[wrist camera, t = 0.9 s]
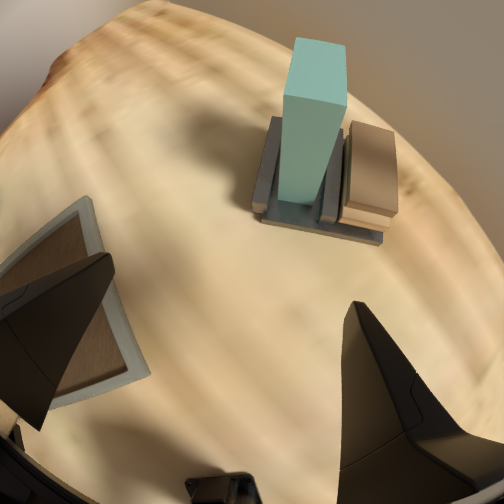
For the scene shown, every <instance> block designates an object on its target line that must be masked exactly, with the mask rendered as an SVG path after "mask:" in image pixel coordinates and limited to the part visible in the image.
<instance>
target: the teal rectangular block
mask: <svg viewBox="0 0 504 504" xmlns="http://www.w3.org/2000/svg"><path fill="white" fill-rule="evenodd" d="M346 77H347V76H346V55H345V46H342V45H338V44H333V43H328V42H323V41H318V40H312V39H305V38H298V37H297V38H296V41H295V46H294V50H293V55H292V59H291V64H290V68H289V72H288V77H287V81H286V86H285V90H284V97H283V118H282V137H281V155H280V172H279V187H278V200H283V201H289V202H294V203H299V204H305V205H310V206H313V204H314V201H315V199H316V196H317V193H318V190H319V188H320V185H321V182H322V179H323V176H324V174H325V171H326V168H327V165H328V162H329V159H330V156H331V153H332V150H333V148H334V145H335V142H336V139H337V136H338V133H339V130H340V127H341V124H342V120H343V117H344V114H345V111H346V108H347V78H346Z"/></svg>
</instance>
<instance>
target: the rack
mask: <svg viewBox="0 0 504 504" xmlns="http://www.w3.org/2000/svg"><path fill="white" fill-rule="evenodd" d="M281 137H282V117H275V116H272V118H271V122H270V126H269V130H268V135H267V139H266V143H265V147H264V151H263V156H262V160H261V164H260V168H259V173H258V177H257V181H256V185H255V190H254V194H253V198H252V208H253V212H256V213H262V219H261V221H262V223H263V224H268V225H274V226H279V227H284V228H290V229H295V230H300V231H306V232H311V233H316V234H321V235H326V236H331V237H336V238H341V239H346V240H350V241H355V242H360V243H365V244H369V245H374V246H379V245H381V244H382V242H383V232H381V231H376V230H372V229H367V228H363V227H358V226H354V225H349V224H345V223H340V222H337V217H338V208H339V197H340V185H341V171H342V154H343V145H344V142H345V139H343V129H341V128H340V130H339V133H338V136H337V139H336V142H335V145H334V148H333V150H332V153H331V156H330V159H329V162H328V165H327V168H326V171H325V174H324V176H323V179H322V182H321V185H320V188H319V190H318V193H317V196H316V199H315V201H314V204H313V206H310V205H305V204H299V203H294V202H289V201H283V200H278V187H279V172H280V155H281Z"/></svg>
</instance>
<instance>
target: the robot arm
mask: <svg viewBox="0 0 504 504" xmlns="http://www.w3.org/2000/svg"><path fill="white" fill-rule="evenodd" d="M114 274H115V269H114V264H113V260H112V256H111V254H110V253H107V252H103V251H102V252H98V253H96V254H94V255H91V256H89V257H86V258H84V259H82V260H79V261H77V262H74V263H72V264H70V265H68V266H65V267H63V268H61V269H58V270H56V271H54V272H52V273H49V274H47V275H45V276H43V277H41V278H38V279H36V280H34V281H32V282H30V283H28V284H25V285H23V286H21V287H19V288H17V289H15V290H12V291H10V292H8V293H5V294H3V295H1V296H0V504H99V503H98V502H96V501H94V500H92V499H90V498H89V497H87V496H85V495H84V494H82V493H80V492H79V491H77V490H75V489H74V488H72V487H71V486H69V485H68V484H66V483H65V482H63V481H62V480H60V479H59V478H57V477H56V476H54V475H53V474H52V473H50V472H49V471H48V470H46V469H45V468H44V467H42V466H41V465H40V464H38V463H37V462H36V461H35V460H33V459H32V458H31V457H30V456H29V455H27V454H26V453H25V452H24V451H25V449H24V445H23V441H22V436H21V431H20V426H19V425H18V424H17V423H16V422H17V420H18V418H19V416H20V417H21V418H22V419H23V420H25V421H26V422H27V423H28V424H30V425H31V426H32V427H34V428H35V429H36V430H38V431H40V430H41V428H42V425H43V422H44V420H45V417H46V415H47V412H48V410H49V407H50V405H51V402H52V400H53V398H54V395H55V393H56V391H57V390H56V389H57V388H58V386H59V384H60V382H61V379H62V377H63V375H64V373H65V371H66V369H67V367H68V365H69V363H70V360H71V358H72V356H73V354H74V353H75V351H76V349H77V347H78V345H79V343H80V341H81V339H82V337H83V335H84V333H85V332H86V330H87V328H88V326H89V324H90V322H91V321H92V319H93V317H94V315H95V314H96V312H97V310H98V308H99V306H100V304H101V302H102V300H103V298H104V296H105V294H106V292H107V290H108V288H109V285H110V283H111V281H112V279H113V277H114ZM341 377H342V435H341V459H340V470H341V471H340V473H339V486H338V496H337V504H504V444H502V443H499V442H495V441H491V440H488V439H484V438H481V437H477V436H474V435H471V434H469V433H467V432H466V431H464V430H463V429H462V428H461V427H460V426H459V425H458V424H457V423H456V422H455V421H454V419H453V418H452V417H451V416H450V414H449V413H448V412H447V411H446V409H445V408H444V407H443V406H442V405H441V403H440V402H439V401H438V400H437V398H436V397H435V396H434V395H433V393H432V392H431V391H430V389H429V388H428V387H427V385H426V384H425V383H424V381H423V380H422V379H421V377H420V376H419V374H418V373H416V370H415V369H414V367H413V366H412V365H411V363H410V362H409V360H408V359H407V358H406V356H405V355H404V354H403V352H402V351H401V350H400V348H399V347H398V346H397V344H396V343H395V342H394V340H393V339H392V338H391V336H390V335H389V334H388V332H387V331H386V330H385V328H384V327H383V326H382V324H381V323H380V322H379V321H378V319H377V318H376V317H375V315H374V314H373V313H372V312H371V310H370V309H369V308H368V307H367V305H366V304H365V303H364V302H359V301H353V302H352V303H351V305H350V307H349V309H348V312H347V314H346V316H345V319H344V324H343V342H342V355H341ZM246 479H250V480H249V481H248V480H246ZM189 483H192V484H189ZM185 486H186V488H187V491H188V493H189V495H190V497H191V500H190V502H191V503H190V504H263V502H262V500H261V497H260V494H259V491H258V488H257V485H256V482H255V479H254V477H253V476H252V475H241V476H231V477H228V476H223V477H207V478H199V479H187V480H186V481H185Z"/></svg>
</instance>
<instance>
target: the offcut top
mask: <svg viewBox="0 0 504 504" xmlns="http://www.w3.org/2000/svg"><path fill="white" fill-rule="evenodd" d="M345 207H348V208H352V209H357V210H361V211H366V212H370V213H374V214H378V215H382V216H386V217H390V218H392V217H394V216H395V215H396V214H397V213H398V177H397V159H396V147H395V136H394V132H392V131H389V130H386V129H382V128H379V127H376V126H372V125H368V124H365V123H361V122H357V121H353V120H352V122H351V125H350V128H349V156H348V176H347V192H346V205H345Z"/></svg>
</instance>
